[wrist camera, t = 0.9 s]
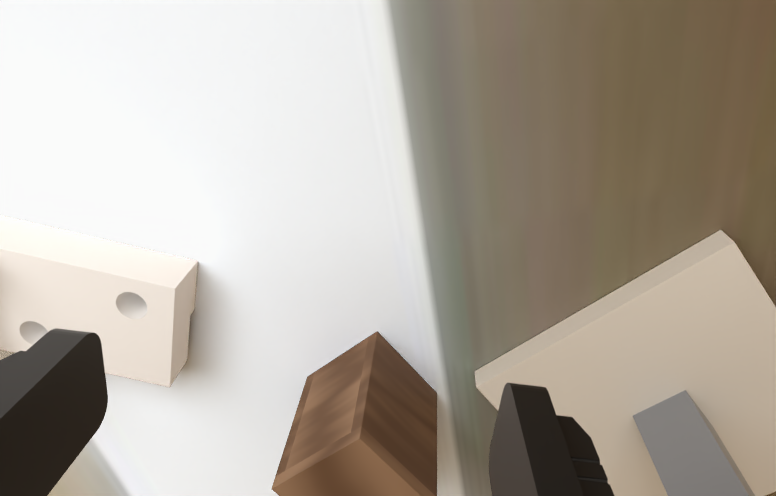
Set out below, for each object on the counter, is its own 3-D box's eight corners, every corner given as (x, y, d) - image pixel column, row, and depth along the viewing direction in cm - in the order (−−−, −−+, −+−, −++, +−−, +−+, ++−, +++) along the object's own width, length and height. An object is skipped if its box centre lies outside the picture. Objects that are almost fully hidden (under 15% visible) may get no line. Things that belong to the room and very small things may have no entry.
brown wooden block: (377, 331, 34) (359, 438, 26) (436, 393, 36) (436, 510, 28) (307, 376, 36) (271, 489, 28) (366, 433, 38) (348, 553, 30)
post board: (720, 229, 29) (862, 357, 20) (852, 435, 35) (1015, 617, 25) (474, 371, 35) (489, 527, 25) (621, 531, 40) (680, 711, 30)
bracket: (-5, 306, 36) (-106, 384, 29) (-17, 208, 33) (-134, 269, 26) (192, 351, 36) (137, 437, 30) (199, 258, 33) (139, 331, 26)
